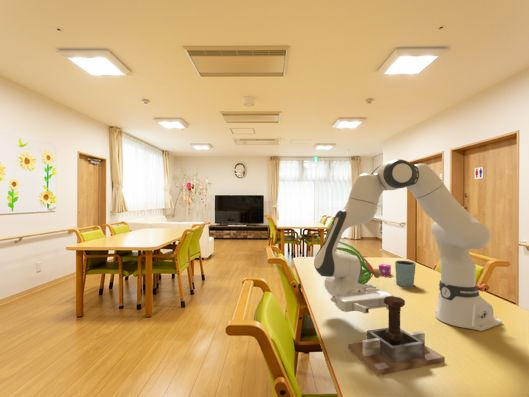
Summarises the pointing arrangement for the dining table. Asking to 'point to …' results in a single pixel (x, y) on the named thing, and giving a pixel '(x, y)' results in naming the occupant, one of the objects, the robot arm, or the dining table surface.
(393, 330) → the bolt
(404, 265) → the blue gray cup
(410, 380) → the dining table surface
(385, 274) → the puzzle toy
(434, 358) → the square frame on board
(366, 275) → the decorative plant
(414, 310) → the dining table surface
